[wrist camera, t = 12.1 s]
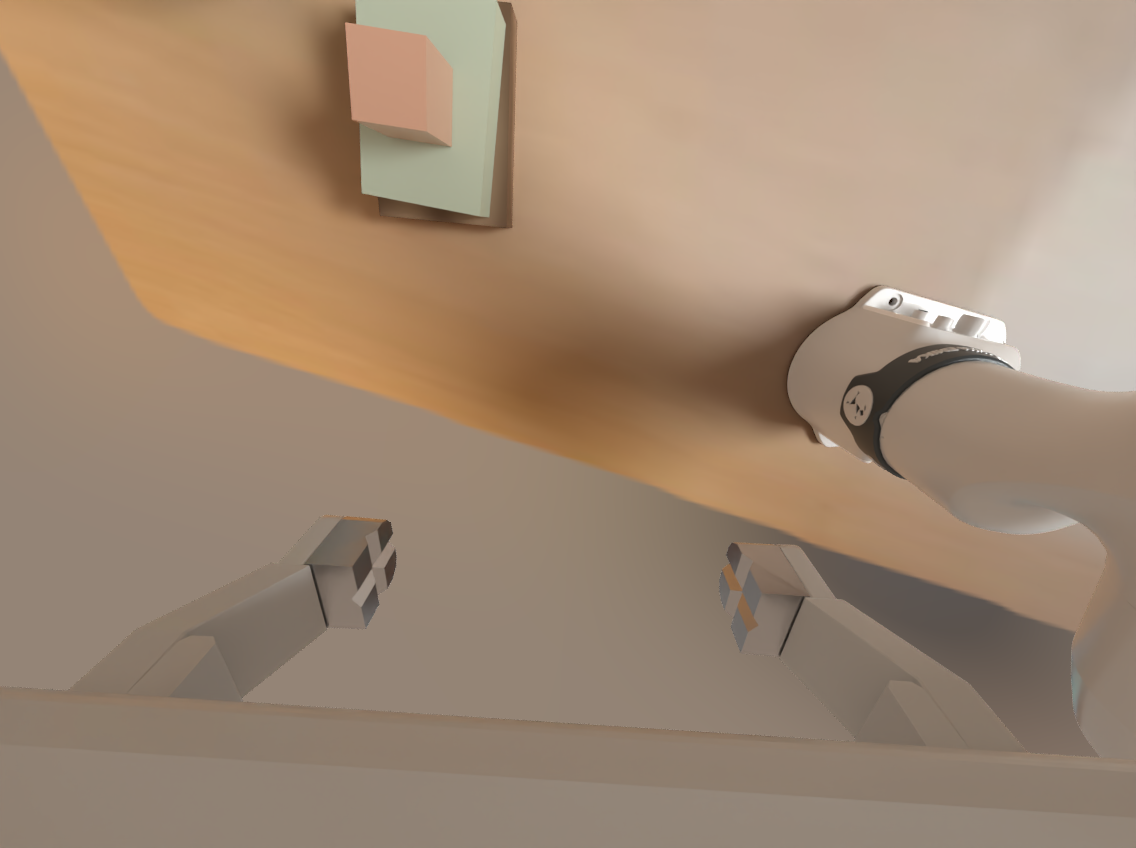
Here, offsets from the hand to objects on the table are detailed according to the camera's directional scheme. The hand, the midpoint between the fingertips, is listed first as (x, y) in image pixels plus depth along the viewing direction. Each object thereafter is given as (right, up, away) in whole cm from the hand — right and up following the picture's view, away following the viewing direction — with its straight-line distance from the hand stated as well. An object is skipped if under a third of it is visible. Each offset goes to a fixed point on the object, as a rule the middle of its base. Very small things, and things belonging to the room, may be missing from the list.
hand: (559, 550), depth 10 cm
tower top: (-11, +30, +26) cm, 41 cm away
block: (-11, +28, +22) cm, 37 cm away
